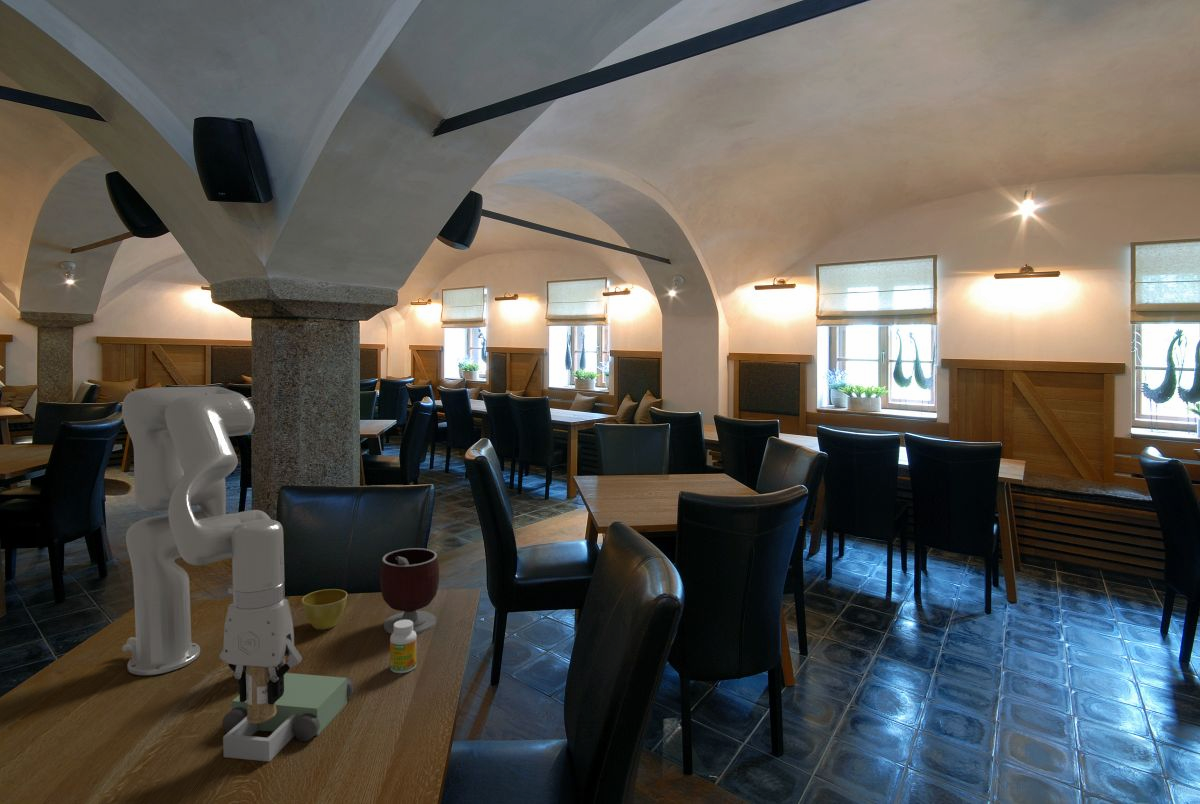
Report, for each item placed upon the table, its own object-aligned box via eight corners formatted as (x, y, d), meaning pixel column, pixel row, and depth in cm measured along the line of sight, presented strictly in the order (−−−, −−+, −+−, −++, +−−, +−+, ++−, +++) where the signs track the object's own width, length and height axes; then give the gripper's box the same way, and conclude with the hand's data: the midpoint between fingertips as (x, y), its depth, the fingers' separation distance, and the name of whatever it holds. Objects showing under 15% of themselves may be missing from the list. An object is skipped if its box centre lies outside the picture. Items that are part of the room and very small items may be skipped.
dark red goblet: (393, 610, 156) (392, 535, 155) (445, 612, 156) (446, 537, 154) (368, 639, 141) (367, 555, 139) (426, 641, 140) (427, 557, 139)
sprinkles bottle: (272, 723, 101) (270, 645, 100) (242, 726, 100) (240, 648, 99) (280, 707, 105) (278, 633, 104) (251, 710, 104) (249, 635, 103)
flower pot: (333, 612, 154) (333, 585, 154) (356, 623, 148) (355, 595, 148) (294, 626, 146) (293, 597, 146) (316, 638, 140) (316, 609, 140)
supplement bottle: (390, 675, 125) (390, 630, 124) (389, 663, 130) (389, 620, 129) (417, 671, 127) (417, 627, 126) (415, 659, 132) (415, 616, 131)
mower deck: (198, 754, 100) (197, 725, 99) (272, 690, 119) (271, 666, 118) (295, 764, 98) (294, 735, 98) (354, 698, 117) (354, 673, 117)
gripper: (195, 600, 98) (199, 707, 99) (293, 607, 96) (295, 716, 98) (228, 583, 105) (231, 683, 107) (319, 589, 104) (321, 690, 105)
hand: (261, 697), depth 102 cm, fingers closed on sprinkles bottle, 4 cm apart
